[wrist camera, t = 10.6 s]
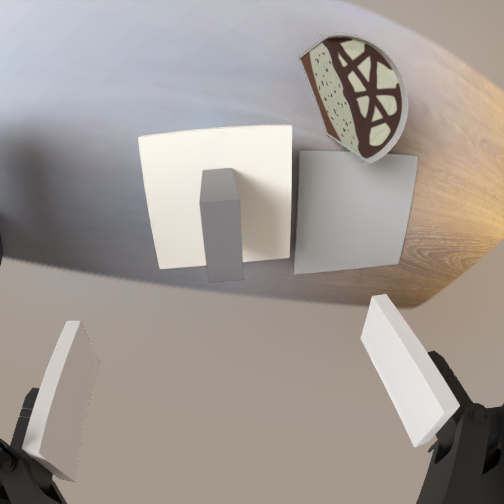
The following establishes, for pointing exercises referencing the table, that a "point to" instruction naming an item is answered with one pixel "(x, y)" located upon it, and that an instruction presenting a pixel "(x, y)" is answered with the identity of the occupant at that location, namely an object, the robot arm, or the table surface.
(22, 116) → the table surface
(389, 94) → the food container
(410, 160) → the mat
